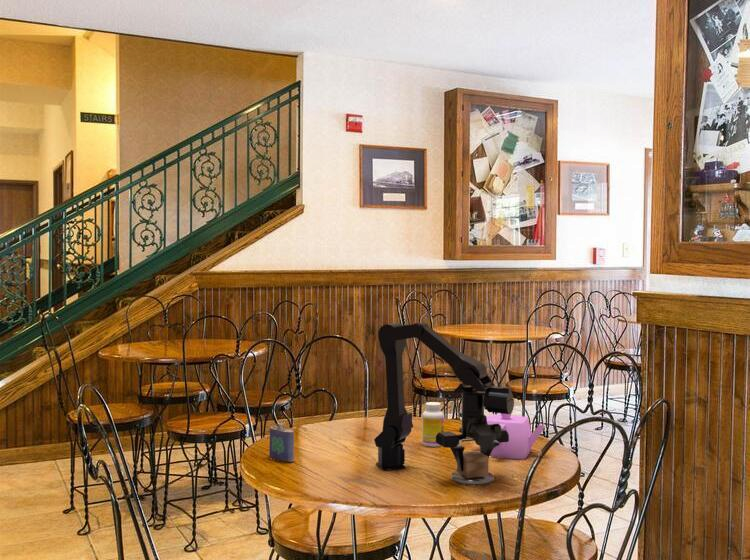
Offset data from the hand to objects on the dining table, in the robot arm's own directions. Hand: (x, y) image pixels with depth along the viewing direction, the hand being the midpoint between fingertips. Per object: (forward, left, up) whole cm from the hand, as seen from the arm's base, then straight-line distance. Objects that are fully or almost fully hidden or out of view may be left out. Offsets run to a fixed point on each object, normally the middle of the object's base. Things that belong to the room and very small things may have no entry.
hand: (472, 469), depth 190 cm
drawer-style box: (0, 0, -1) cm, 1 cm away
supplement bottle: (+5, +36, -3) cm, 36 cm away
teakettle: (+22, +20, -3) cm, 30 cm away
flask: (-43, +35, -3) cm, 55 cm away
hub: (0, 0, -2) cm, 2 cm away
